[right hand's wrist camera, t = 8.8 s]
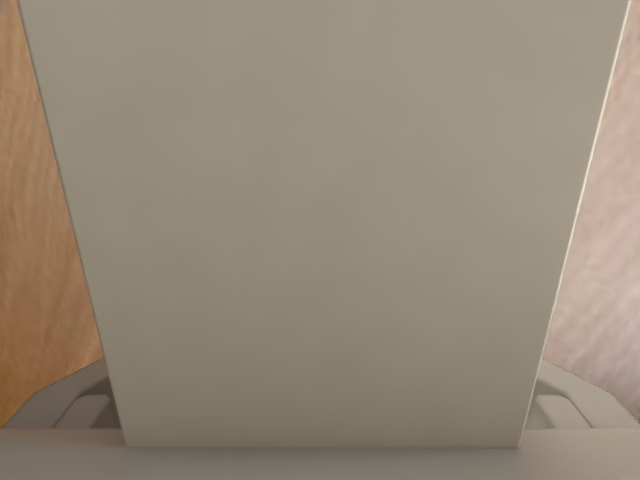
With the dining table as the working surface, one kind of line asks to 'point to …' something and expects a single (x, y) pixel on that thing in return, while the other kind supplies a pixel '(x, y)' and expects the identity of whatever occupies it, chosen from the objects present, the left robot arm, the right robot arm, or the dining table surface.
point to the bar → (323, 207)
